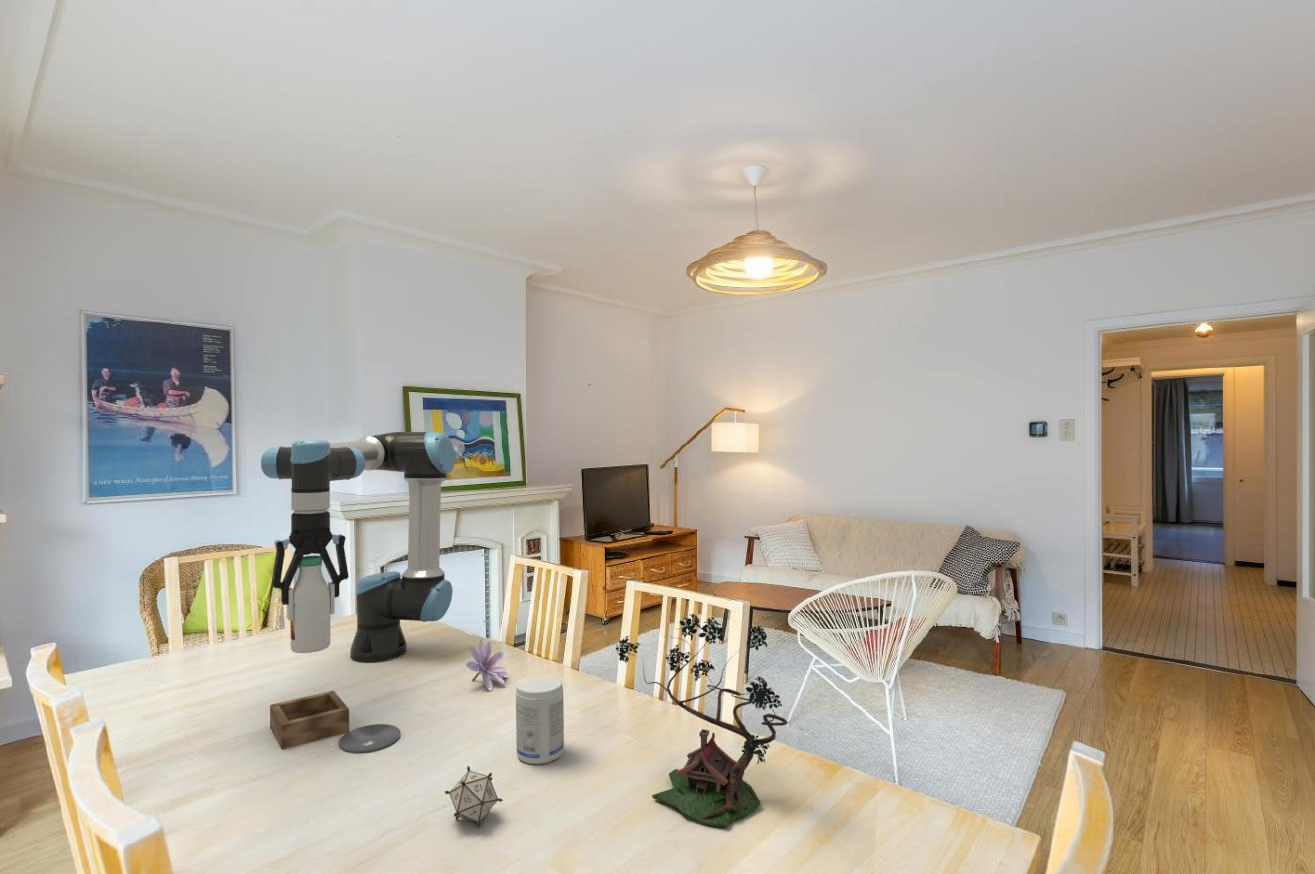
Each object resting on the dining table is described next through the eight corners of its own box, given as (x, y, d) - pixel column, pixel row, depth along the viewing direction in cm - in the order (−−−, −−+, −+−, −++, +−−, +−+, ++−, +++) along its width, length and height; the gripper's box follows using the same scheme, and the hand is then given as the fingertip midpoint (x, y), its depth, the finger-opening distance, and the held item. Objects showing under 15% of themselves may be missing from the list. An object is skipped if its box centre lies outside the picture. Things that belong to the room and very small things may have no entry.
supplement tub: (555, 739, 144) (556, 671, 143) (570, 759, 135) (570, 686, 135) (510, 748, 139) (510, 678, 139) (522, 770, 131) (522, 695, 131)
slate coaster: (390, 721, 152) (390, 719, 152) (408, 741, 142) (408, 738, 142) (332, 737, 144) (332, 734, 144) (347, 758, 135) (347, 755, 135)
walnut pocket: (333, 711, 157) (333, 690, 157) (349, 731, 147) (349, 708, 147) (270, 727, 148) (270, 704, 148) (281, 749, 138) (281, 725, 138)
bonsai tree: (797, 769, 132) (799, 608, 131) (777, 841, 109) (779, 646, 108) (631, 740, 144) (632, 592, 143) (581, 800, 121) (582, 624, 120)
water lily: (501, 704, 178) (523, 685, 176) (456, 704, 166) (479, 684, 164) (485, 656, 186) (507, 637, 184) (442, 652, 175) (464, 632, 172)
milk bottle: (337, 643, 151) (337, 553, 150) (316, 654, 143) (316, 561, 142) (305, 641, 151) (304, 553, 151) (282, 653, 144) (282, 560, 143)
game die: (465, 837, 116) (453, 775, 121) (512, 817, 116) (499, 757, 121) (445, 839, 108) (433, 773, 113) (495, 818, 108) (482, 754, 113)
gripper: (355, 506, 156) (355, 604, 156) (253, 512, 143) (254, 619, 144) (364, 509, 150) (365, 611, 150) (259, 516, 137) (260, 628, 138)
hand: (311, 615), depth 147 cm, fingers closed on milk bottle, 7 cm apart
